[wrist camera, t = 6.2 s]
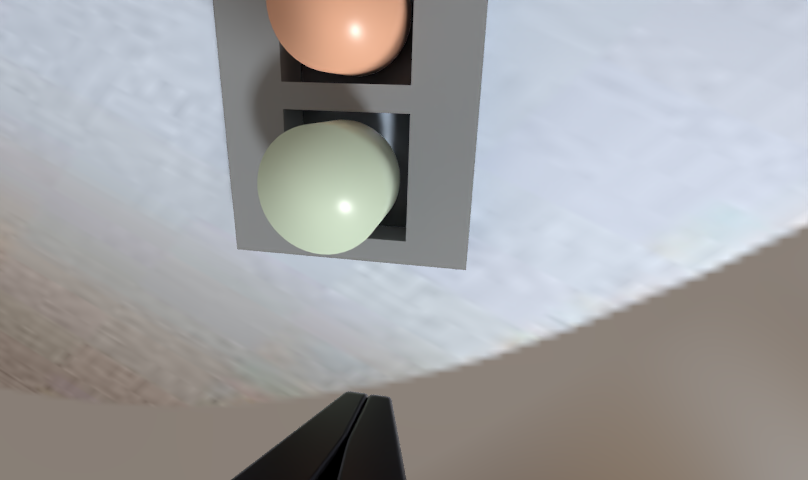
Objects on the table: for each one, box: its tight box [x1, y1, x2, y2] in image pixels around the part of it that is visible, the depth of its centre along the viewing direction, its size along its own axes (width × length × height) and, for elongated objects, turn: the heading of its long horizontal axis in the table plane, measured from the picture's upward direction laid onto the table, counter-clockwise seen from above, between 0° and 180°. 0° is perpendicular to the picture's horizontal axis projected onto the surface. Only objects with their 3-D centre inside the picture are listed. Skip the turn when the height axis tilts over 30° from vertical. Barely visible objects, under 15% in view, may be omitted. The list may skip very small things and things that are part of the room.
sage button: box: [257, 120, 400, 255], centre depth 16 cm, size 4×4×3 cm
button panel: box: [213, 0, 488, 270], centre depth 16 cm, size 10×19×2 cm, turn 178°
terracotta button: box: [266, 0, 412, 77], centre depth 15 cm, size 4×4×3 cm
